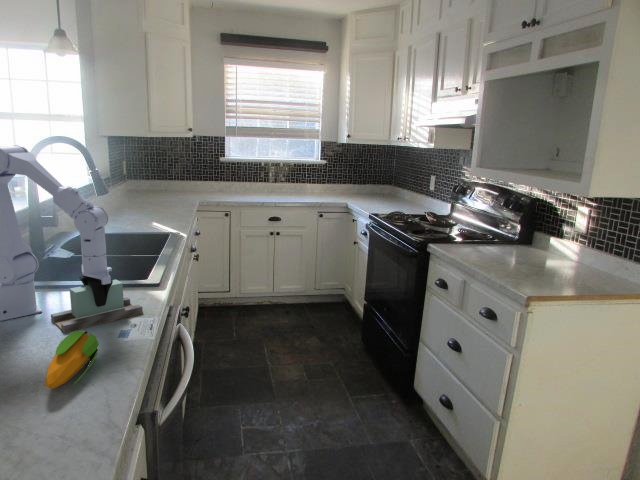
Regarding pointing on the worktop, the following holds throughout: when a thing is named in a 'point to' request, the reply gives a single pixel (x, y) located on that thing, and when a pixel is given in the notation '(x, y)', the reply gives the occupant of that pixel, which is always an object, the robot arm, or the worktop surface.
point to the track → (93, 317)
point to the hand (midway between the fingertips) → (97, 303)
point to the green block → (86, 304)
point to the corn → (71, 358)
